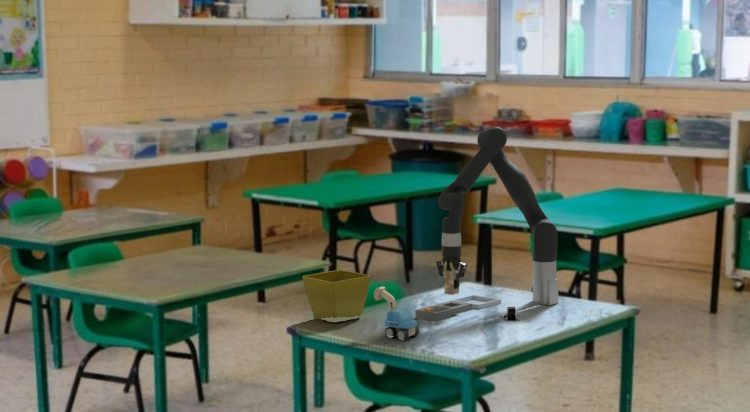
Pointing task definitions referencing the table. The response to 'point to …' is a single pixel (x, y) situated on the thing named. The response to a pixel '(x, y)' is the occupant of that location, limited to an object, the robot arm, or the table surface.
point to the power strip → (442, 310)
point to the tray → (479, 301)
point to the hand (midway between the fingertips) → (451, 287)
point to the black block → (511, 314)
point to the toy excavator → (397, 317)
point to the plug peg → (449, 283)
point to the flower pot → (336, 293)
